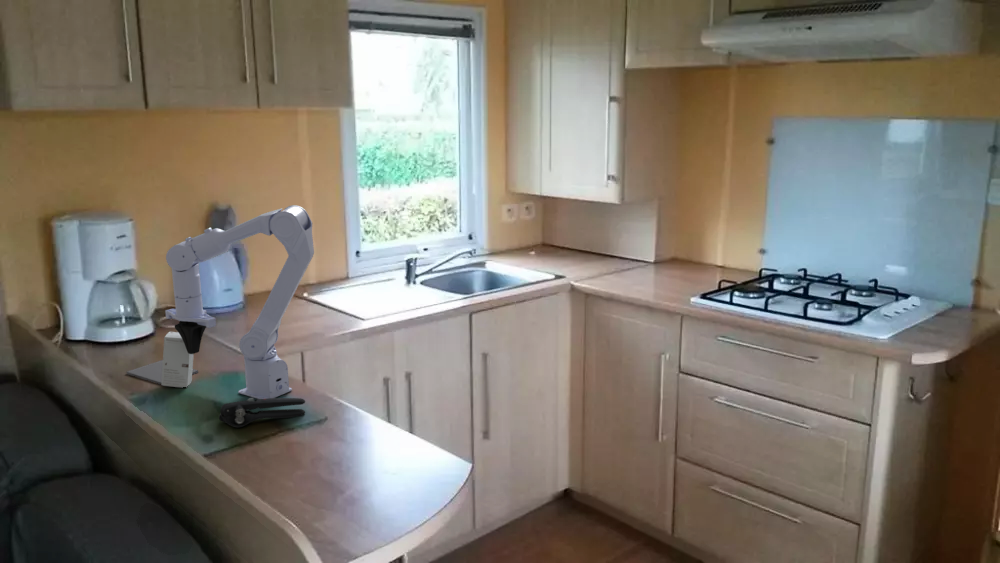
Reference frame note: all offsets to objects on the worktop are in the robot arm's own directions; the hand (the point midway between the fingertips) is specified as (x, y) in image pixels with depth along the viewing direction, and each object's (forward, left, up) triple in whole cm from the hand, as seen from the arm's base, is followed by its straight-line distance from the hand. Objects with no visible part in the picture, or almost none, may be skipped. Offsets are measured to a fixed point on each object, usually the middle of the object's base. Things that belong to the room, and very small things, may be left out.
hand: (193, 352), depth 183 cm
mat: (+17, -3, -9) cm, 20 cm away
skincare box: (+7, 0, -9) cm, 12 cm away
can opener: (-26, +3, -10) cm, 27 cm away
